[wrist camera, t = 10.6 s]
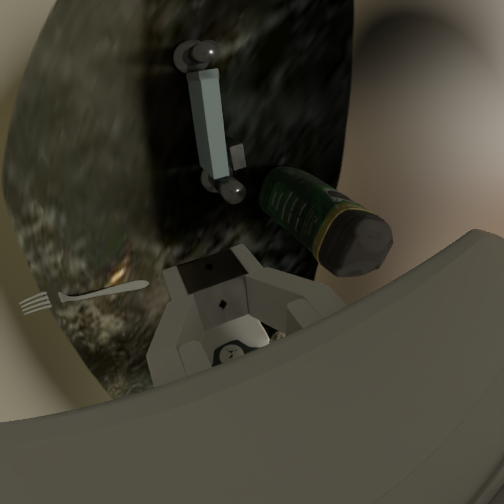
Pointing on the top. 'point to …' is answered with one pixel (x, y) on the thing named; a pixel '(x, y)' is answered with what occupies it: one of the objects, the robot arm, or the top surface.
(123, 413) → the robot arm
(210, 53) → the round knob
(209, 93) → the grey flat block
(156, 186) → the top surface
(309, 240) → the coffee jar
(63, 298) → the fork
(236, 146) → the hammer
